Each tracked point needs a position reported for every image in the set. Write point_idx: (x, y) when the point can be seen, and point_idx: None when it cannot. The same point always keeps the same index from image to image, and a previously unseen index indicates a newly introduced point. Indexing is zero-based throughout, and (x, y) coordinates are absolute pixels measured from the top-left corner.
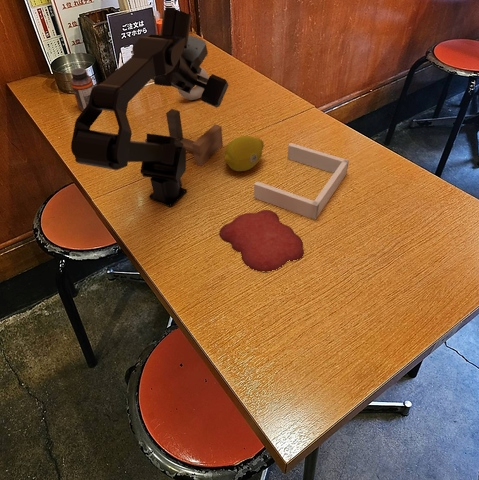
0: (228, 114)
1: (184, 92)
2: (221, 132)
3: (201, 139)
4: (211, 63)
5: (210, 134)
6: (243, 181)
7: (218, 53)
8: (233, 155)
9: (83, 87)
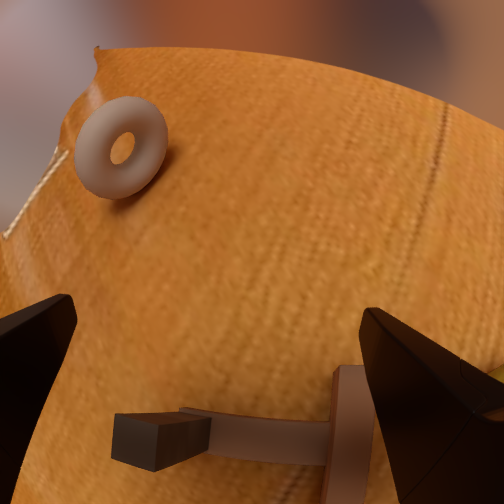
0: (277, 197)
1: (111, 191)
2: None
3: (343, 499)
4: (140, 72)
5: (364, 448)
6: None
7: (145, 50)
8: None
9: None
